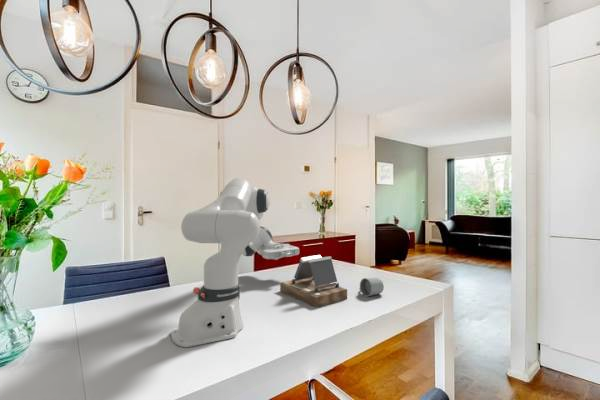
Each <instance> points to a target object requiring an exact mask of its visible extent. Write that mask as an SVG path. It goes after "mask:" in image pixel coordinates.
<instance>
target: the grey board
mask: <svg viewBox="0 0 600 400" xmlns="http://www.w3.org/2000/svg"><path fill="white" fill-rule="evenodd" d="M316 258H322V256H321V254H317V255H309V256H304V257H300V259H299V263H298V265H297V268H296V271H295V274H294V276H293V279H296V280H299V279H304V278H308V277H313V275H312V270H311V266H310V263H309V260H311V259H316Z"/></svg>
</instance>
